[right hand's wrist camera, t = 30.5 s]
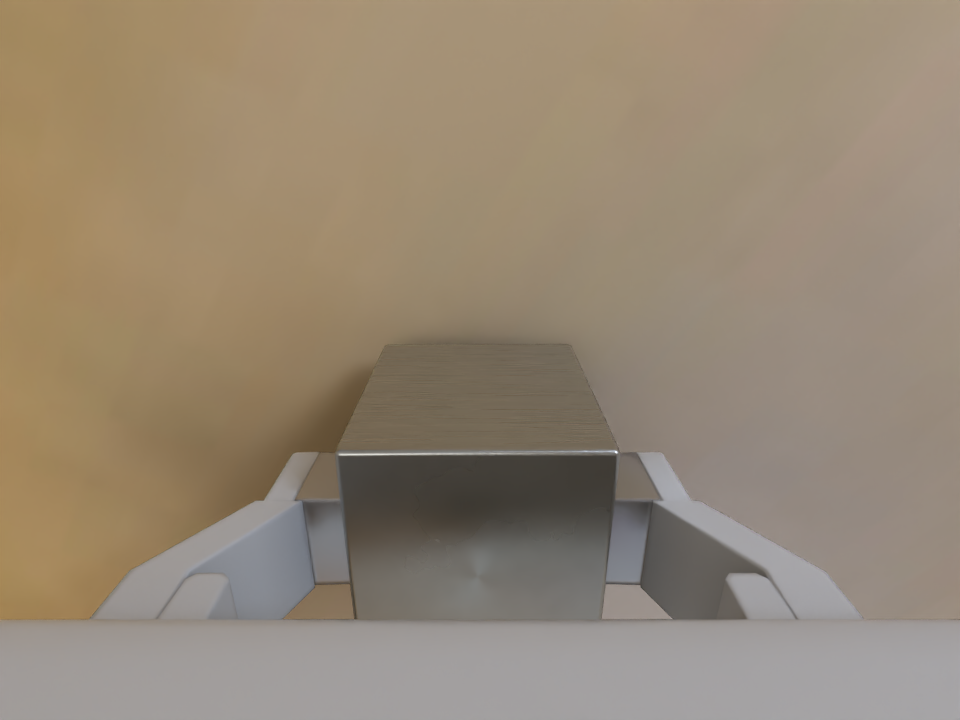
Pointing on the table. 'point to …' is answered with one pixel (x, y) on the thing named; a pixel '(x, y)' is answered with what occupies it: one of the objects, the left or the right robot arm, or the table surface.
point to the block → (477, 485)
